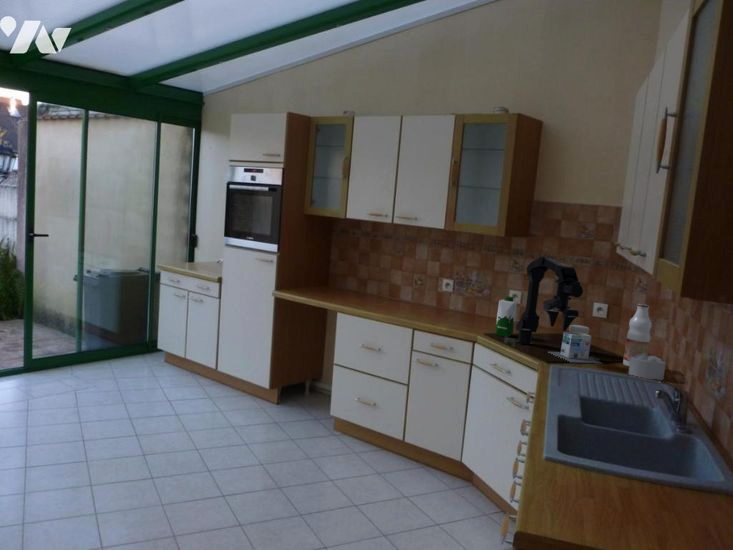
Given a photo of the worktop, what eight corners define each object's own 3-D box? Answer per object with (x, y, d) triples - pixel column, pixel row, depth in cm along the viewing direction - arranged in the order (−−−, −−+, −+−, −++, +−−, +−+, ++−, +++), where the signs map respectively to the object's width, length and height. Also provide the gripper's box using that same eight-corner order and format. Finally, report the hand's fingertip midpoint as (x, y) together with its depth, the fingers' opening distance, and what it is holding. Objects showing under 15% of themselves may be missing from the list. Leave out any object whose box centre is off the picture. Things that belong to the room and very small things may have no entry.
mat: (548, 352, 283) (548, 351, 283) (577, 354, 287) (577, 353, 287) (570, 362, 265) (571, 361, 265) (602, 364, 270) (602, 362, 270)
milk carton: (514, 335, 319) (519, 298, 317) (509, 337, 311) (514, 299, 309) (497, 332, 323) (502, 295, 321) (492, 334, 315) (497, 296, 313)
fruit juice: (634, 368, 267) (644, 305, 265) (618, 363, 276) (627, 302, 273) (650, 368, 271) (659, 306, 268) (633, 363, 280) (642, 303, 277)
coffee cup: (562, 349, 295) (566, 325, 294) (571, 348, 302) (574, 324, 300) (580, 354, 288) (584, 329, 287) (589, 352, 295) (593, 328, 294)
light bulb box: (568, 358, 272) (571, 334, 271) (559, 354, 278) (562, 331, 277) (588, 359, 275) (592, 335, 274) (579, 355, 281) (583, 332, 280)
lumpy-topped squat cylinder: (665, 380, 250) (669, 360, 249) (634, 377, 250) (637, 356, 249) (653, 374, 260) (657, 354, 260) (623, 371, 260) (626, 351, 259)
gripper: (535, 289, 277) (530, 323, 279) (559, 296, 259) (554, 332, 261) (556, 291, 280) (551, 324, 282) (582, 297, 263) (576, 333, 264)
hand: (558, 328), depth 272 cm, fingers open, 9 cm apart
